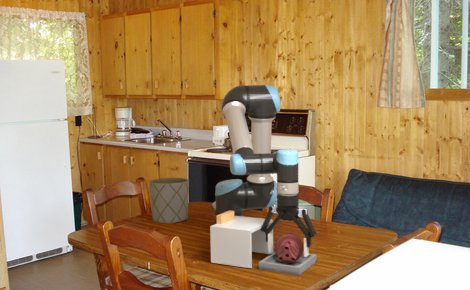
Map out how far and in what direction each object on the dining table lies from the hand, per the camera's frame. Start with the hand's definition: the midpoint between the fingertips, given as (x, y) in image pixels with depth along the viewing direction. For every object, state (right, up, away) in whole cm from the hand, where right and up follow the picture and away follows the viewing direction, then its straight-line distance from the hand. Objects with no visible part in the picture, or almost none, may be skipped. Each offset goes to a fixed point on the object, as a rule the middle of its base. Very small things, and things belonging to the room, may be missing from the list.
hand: (288, 253), depth 189 cm
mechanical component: (0, -3, 0) cm, 3 cm away
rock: (-20, +3, +98) cm, 100 cm away
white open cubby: (-16, -3, +9) cm, 18 cm away
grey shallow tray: (0, -4, 0) cm, 4 cm away
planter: (-50, +1, +74) cm, 89 cm away
